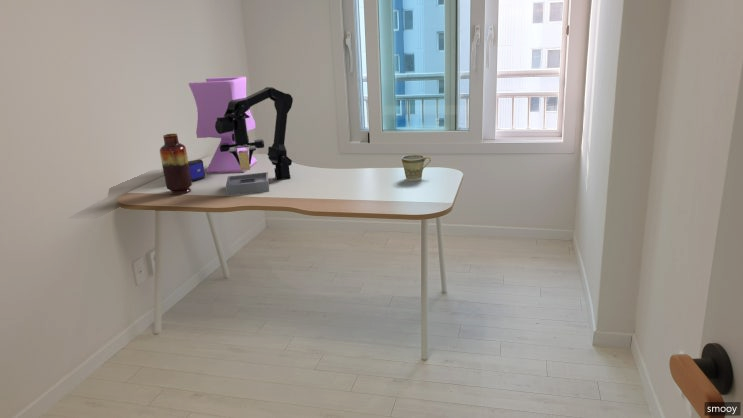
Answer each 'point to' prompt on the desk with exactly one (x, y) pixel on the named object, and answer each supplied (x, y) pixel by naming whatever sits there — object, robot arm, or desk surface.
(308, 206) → the desk surface
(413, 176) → the ceramic cup
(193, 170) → the blue screen device
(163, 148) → the vase
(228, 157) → the lavender hourglass shape
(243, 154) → the connector plug
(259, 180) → the grey socket tray
